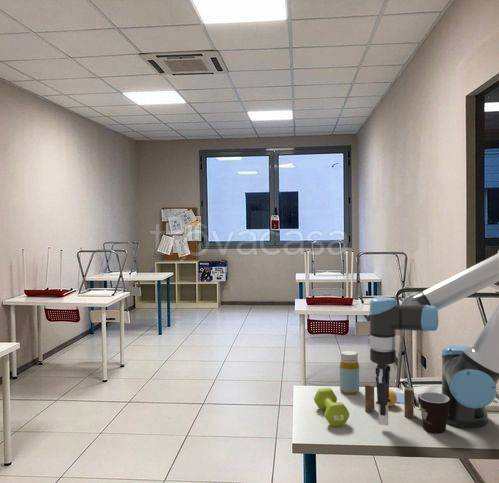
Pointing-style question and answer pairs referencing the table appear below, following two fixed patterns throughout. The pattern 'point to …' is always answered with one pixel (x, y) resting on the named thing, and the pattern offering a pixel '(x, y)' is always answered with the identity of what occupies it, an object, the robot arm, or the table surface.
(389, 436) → the table surface
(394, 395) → the ball
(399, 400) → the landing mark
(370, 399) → the post far
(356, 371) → the bottle
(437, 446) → the table surface
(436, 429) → the coffee mug
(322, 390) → the dumbbell
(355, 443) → the table surface
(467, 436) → the table surface
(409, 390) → the post near
